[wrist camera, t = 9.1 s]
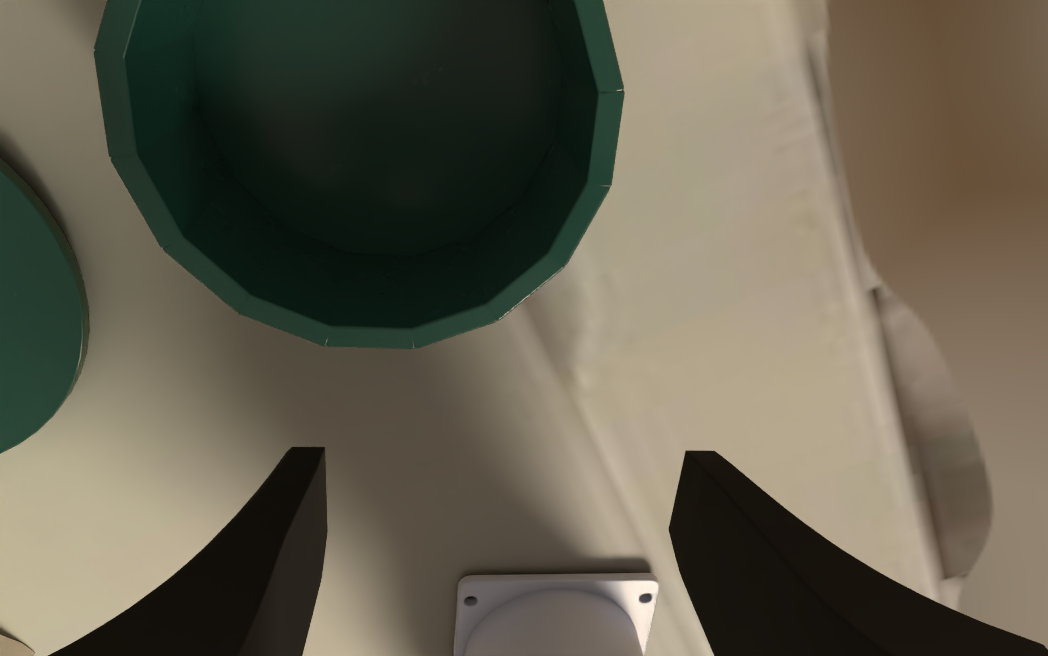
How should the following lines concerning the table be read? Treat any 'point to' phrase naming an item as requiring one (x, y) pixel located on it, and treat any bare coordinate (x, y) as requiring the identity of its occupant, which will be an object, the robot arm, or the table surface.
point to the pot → (363, 152)
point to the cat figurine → (13, 648)
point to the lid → (36, 313)
